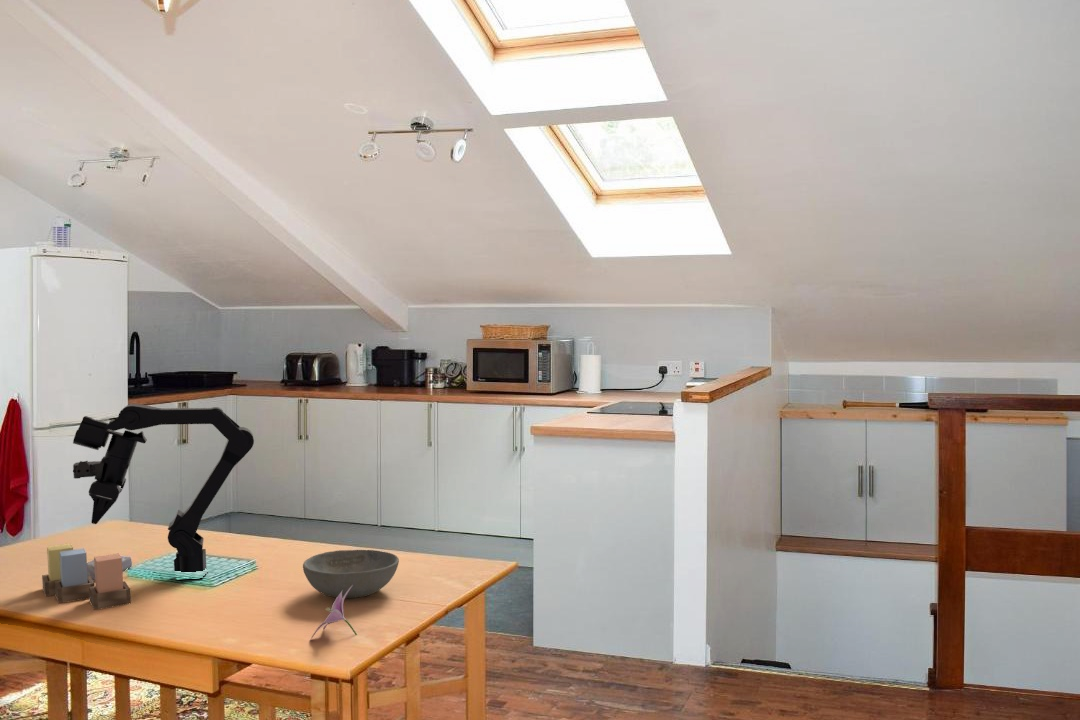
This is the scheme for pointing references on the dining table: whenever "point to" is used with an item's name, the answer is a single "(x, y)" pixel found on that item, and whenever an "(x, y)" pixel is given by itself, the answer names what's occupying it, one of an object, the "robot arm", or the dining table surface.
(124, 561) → the stone block
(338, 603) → the lily
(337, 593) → the bowl
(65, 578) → the blue-grey block
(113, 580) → the tan block
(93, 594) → the walnut sockets
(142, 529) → the dining table surface
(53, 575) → the ochre block
